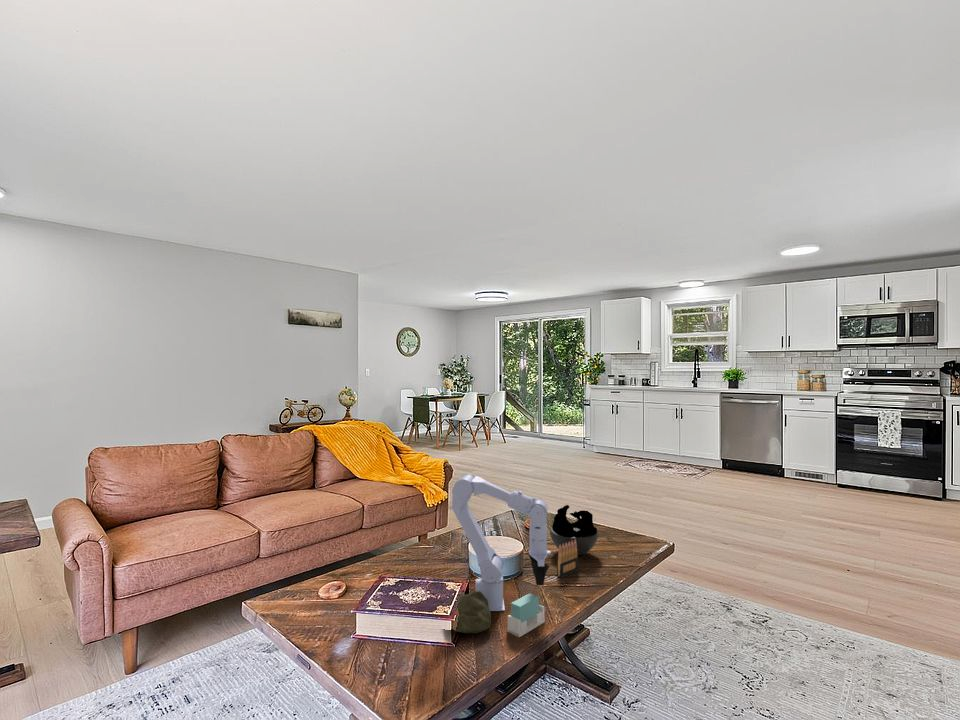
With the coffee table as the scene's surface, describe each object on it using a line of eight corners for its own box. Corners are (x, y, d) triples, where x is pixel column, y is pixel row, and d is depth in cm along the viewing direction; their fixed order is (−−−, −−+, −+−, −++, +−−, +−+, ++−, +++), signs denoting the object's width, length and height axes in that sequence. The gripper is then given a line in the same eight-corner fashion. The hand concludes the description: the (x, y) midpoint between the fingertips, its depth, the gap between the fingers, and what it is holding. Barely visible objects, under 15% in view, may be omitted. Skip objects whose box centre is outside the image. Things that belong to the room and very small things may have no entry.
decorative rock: (439, 643, 152) (435, 610, 152) (450, 613, 168) (446, 583, 167) (489, 642, 150) (485, 609, 150) (495, 612, 166) (492, 581, 165)
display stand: (519, 637, 153) (519, 621, 153) (507, 631, 156) (507, 615, 156) (544, 621, 162) (544, 606, 161) (533, 616, 165) (533, 601, 165)
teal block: (520, 623, 154) (520, 606, 154) (511, 619, 156) (511, 602, 156) (538, 612, 160) (538, 596, 160) (529, 609, 163) (529, 593, 163)
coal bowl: (599, 564, 206) (599, 517, 206) (549, 561, 209) (549, 515, 209) (596, 546, 226) (596, 503, 226) (550, 544, 229) (550, 501, 229)
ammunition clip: (560, 577, 194) (560, 545, 194) (556, 576, 196) (556, 544, 196) (578, 570, 201) (578, 539, 201) (574, 568, 203) (574, 537, 203)
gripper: (554, 546, 162) (554, 589, 162) (547, 530, 176) (547, 570, 176) (531, 546, 162) (531, 589, 162) (526, 530, 176) (526, 570, 176)
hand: (538, 579), depth 169 cm, fingers open, 7 cm apart
